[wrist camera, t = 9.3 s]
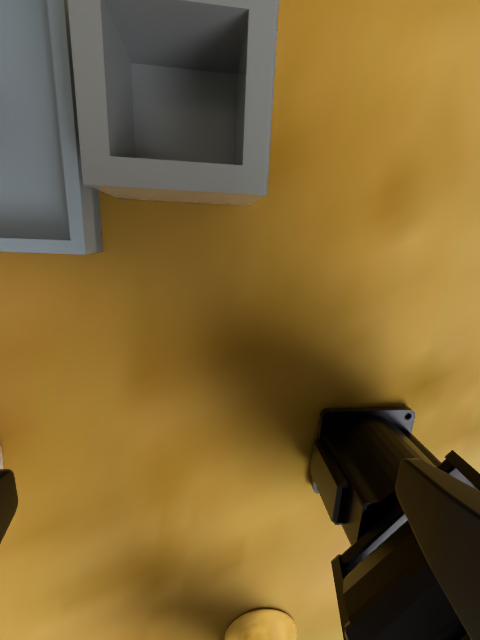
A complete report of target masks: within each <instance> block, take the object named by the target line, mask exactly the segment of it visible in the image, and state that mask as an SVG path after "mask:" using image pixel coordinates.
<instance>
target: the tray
mask: <svg viewBox="0 0 480 640" xmlns="http://www.w3.org/2000/svg"><path fill="white" fill-rule="evenodd" d="M102 251H103V248H102V234H101V220H100V206H99V193H98V190H96V189H93V188H91V187H88V186H85V185H83V178H82V166H81V154H80V142H79V130H78V118H77V107H76V95H75V83H74V71H73V59H72V47H71V35H70V23H69V11H68V0H0V252H24V253H54V254H83V255H86V254H92V253H97V252H102Z"/></svg>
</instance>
